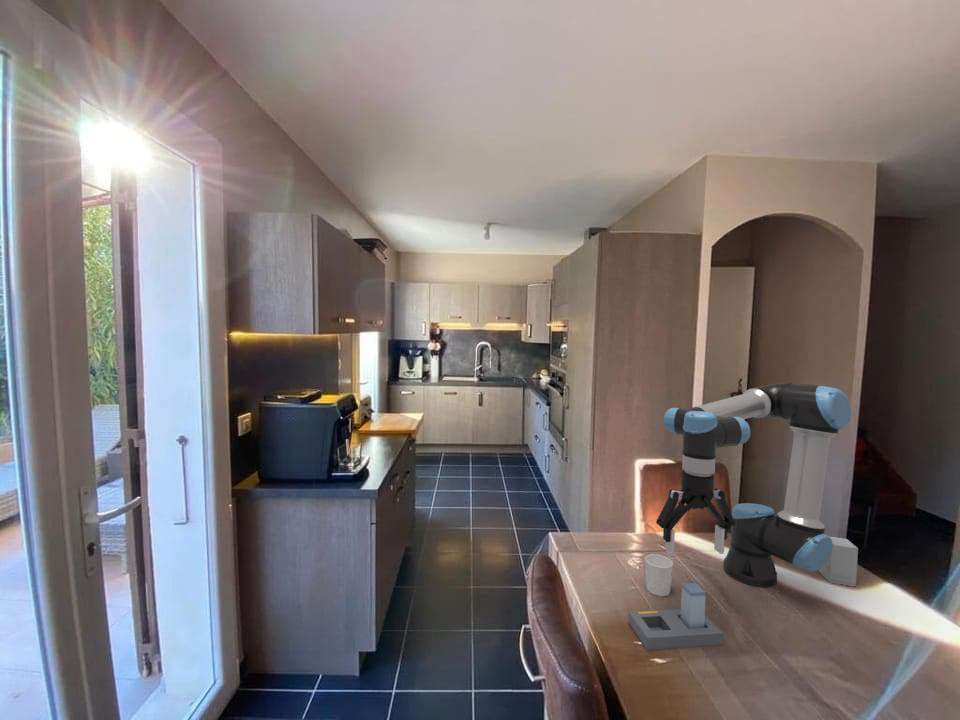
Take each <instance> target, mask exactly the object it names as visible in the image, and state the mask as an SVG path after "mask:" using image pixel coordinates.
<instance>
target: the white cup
mask: <svg viewBox="0 0 960 720" xmlns="http://www.w3.org/2000/svg"><path fill="white" fill-rule="evenodd" d="M673 567H674V563H673V561H672V559H670V558H668V557H667V556H664V555H662V554H661V555H660V554H656V553H655V554H653V553H651V554H648V555H646V556H645V558H644V569H645V571H644V576H645V577H644V578H645V588H646V591H648V592H649V593H650V594H653V595H656V596H659V597H666V596H669V595H670V594H671V586H672V579H673Z"/></svg>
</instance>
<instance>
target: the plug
mask: <svg viewBox="0 0 960 720" xmlns="http://www.w3.org/2000/svg"><path fill="white" fill-rule="evenodd" d="M706 594H707V593H706V591H705V590H704V589H703V588H702V586H700V585H699V584H698V583H696V582H694V583H693V582H691V583H689V582H688V583H682V584H681V603H680V604H681V605H680V606H681V607H680V609H681V620H682V622H683V623H684V624H685V625H686V626H687V627H688V628H689V629H693V628H704V621H705V615H706V600H707V599H706V596H707V595H706Z"/></svg>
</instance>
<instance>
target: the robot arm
mask: <svg viewBox="0 0 960 720" xmlns="http://www.w3.org/2000/svg"><path fill="white" fill-rule="evenodd" d="M851 415H852V409H851V404H850V400H849V399H848V397H847V395H846V393H844V391H842V390H841V389H839V388H836V387H831V386H824V385H811V384H803V383H801V384H800V383H792V382H791V383H790V382H779V383H778V382H776V383H771V384H765V385H761V386H756V387H753V388H749V389H747V390H745V391H744V392H743V393H742V394H738V395H734V396H731V397H728V398H727V397H726V398H724V399H719V400H716V401H712V402H708V403H705V404H700V405H697V406H694V407H689V408H685V409H684V408H681V407H671V408H669V409H667V411H665V413H664V416H663V426H664V428H665V430H667V431H668V432H670V433H673V434H675V435H678V436H679V435H680V436H682V437H683V439H682V461H681V462H682V465H681V469H682V471H681V477H680V478H681V480H680V481H681V482H680V484H681V489H680V491H678V490H674V489H669V491H668V498H667V499H666V501H665V504H664V506H663V507H662V509H661V511H660V513H659V515H658V517H657V519H656V521H655V523H656V524H657V526H659V527H660V528H661V529H663V531H662V532H663V534H662V538H663V540H664V541H665V547H664V548H665V549H664V550H665V552H666V553H667V554H668V555H669V556H670V557H674V556H675V536H676V535H675V533H676V531H675V530H674V528H675V526H676V525H677V524H678V523H679V522H680V520H681V519H682V518H683V517H684V516H685V514H687V512H690V511H691V509H692V510H696V509H702V510H703V509H706V510H707V511H708V513H709V514H710V515H711V516H712V517H713V519H714V520H715V521H716V523H717V524H714V543H713V544H714V546H713V548H714V550H715V551H716V552H718V554H720V555H724V554H725V541H727V538H728V531H730V544H729V545H730V546H729V549H728V551H727V554H726V556H725V557H724V559H723V571H724V572H725V573H726V574H727V575H728V576H729V577H731V578H732V579H734V580H736V581H739V582H741V583H743V584H746V585H750V586H754V587H758V588H759V587H761V588H769V587H775V585H777V583H778V572H777V569H776V566H775V562H774V560H773V556H774V557H776V558H778V559H781V560H782V561H785V563H789V564H791V565H793V566H794V567H795V568H800V569H802V570H804V571H808V572H816V571H819V570H820V569H821V568H822V567H823V566H824V565H825V564H826V563H827V561H828V560H829V558H830V555H831V553H832V549H833V543H832V539H831V538H830V537H831V536H829V535H828V534H826V533H825V530H826V525H825V524H824V523H823V522H822V521H821V520H820V517H821V516H820V515H821V511H822V510H821V509H822V501H823V496H824V488H825V479H826V473H827V464H828V458H829V451H830V445H831V444H830V443H831V440H832V439H833V438H834V437H836V436H837V435H838V433H839V430H842V429H845V428H846V427H848V425H849V422H850V421H851ZM767 417H768V418H776V419H782V420H788V421H789V425H788V426H789V428H790V430H792V432H793V441H792V446H791V447H792V448H791V456H790V463H789V467H788V468H789V470H788V477H787V486H786V491H785V499H784V506H783V510H781V511H779V512H777V513H776V512H775V510H774V508H772V507H771V506H768V505H764V504H760V503H754V502H753V503H749V502H745V503H742V502H741V503H738V504H735V505H734V506H733V507H732V511H731V510H730V508H729V505H728V504H727V501H726V494H725V491H723V490H721V489H719V488H715V475H714V474H715V472H716V450H717V449H718V448H726V447H737V446H739V445H743V444H745V443H747V442H748V441H749V439H750V437H751V428H750V425H749V423H748V422H747V421H746V420H747V419H751V418H754V419H755V418H756V419H762V418H767ZM716 448H717V449H716ZM713 498H714V499H715V501H716V503H717V507H718V508H719V510H720V512H719V511H718V509H716V507H715V504H713V502H712V499H713ZM720 513H721V514H720ZM775 513H776V515H775Z"/></svg>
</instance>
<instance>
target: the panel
mask: <svg viewBox="0 0 960 720" xmlns="http://www.w3.org/2000/svg"><path fill="white" fill-rule="evenodd" d="M628 624H629V625H630V627H631V628H632V630H633V632H634V633H635V635H637V638H638V639H639V640H640V642H641V643H642V645H643V647H644V648H645V649H646V650H647V651H650V650H652V651H653V650H666V649H680V648H681V649H682V648H691V647H692V648H696V647H697V648H699V647H713V646H722V645H723V642H724V641H723V640H724V639H723V638H724V633H723V631H721V629H720V628H719V627H718V626H717V625H716V624H715V623H714V622H712V620H710V618H709V617H708V615H706V614H705V621H704V628H693V629H689V628H688V627H687V626H686V625H685V624H684V623H683V622H682V620H681V608H674V609H673V608H672V609H657V610H643V611H641V610H640V611H639V610H638V611H629V612H628Z"/></svg>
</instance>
